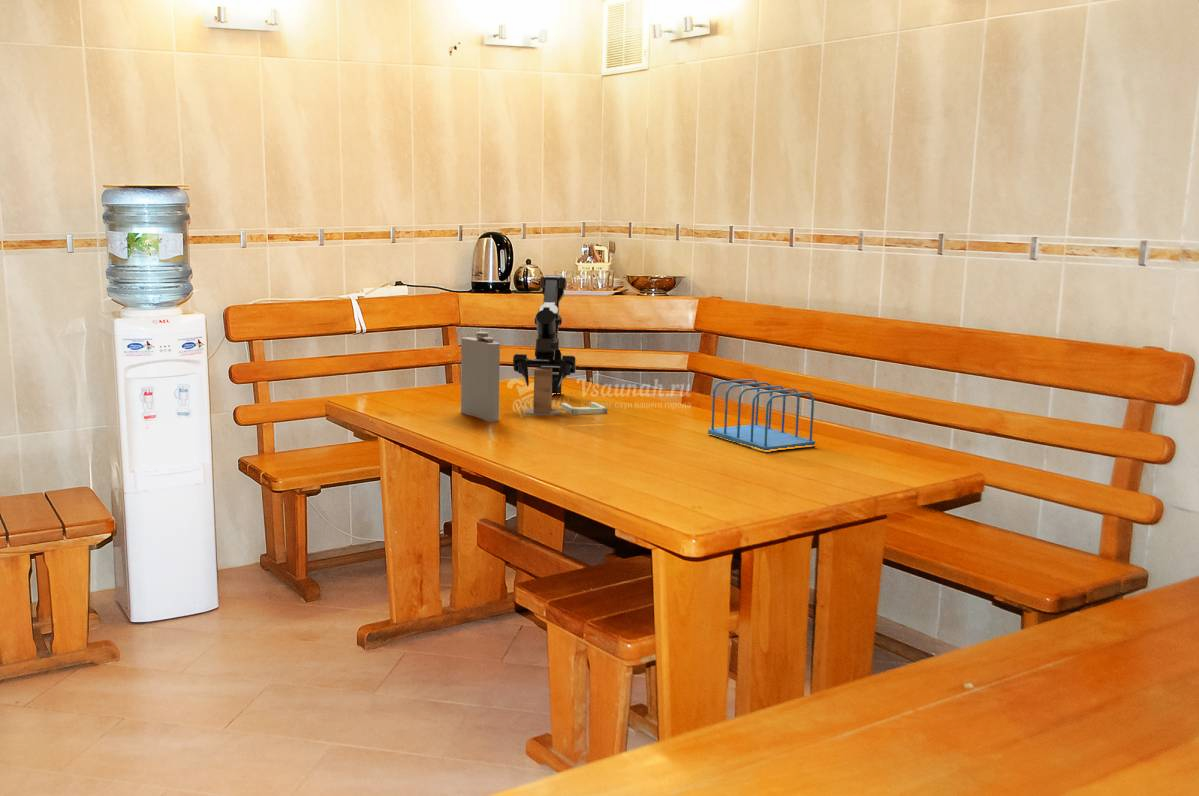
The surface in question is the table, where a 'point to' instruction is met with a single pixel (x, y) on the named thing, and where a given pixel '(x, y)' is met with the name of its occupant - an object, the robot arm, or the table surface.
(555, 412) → the slate coaster
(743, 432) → the file sorter
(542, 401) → the oak block
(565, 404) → the pocket
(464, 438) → the table surface
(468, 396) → the flask
